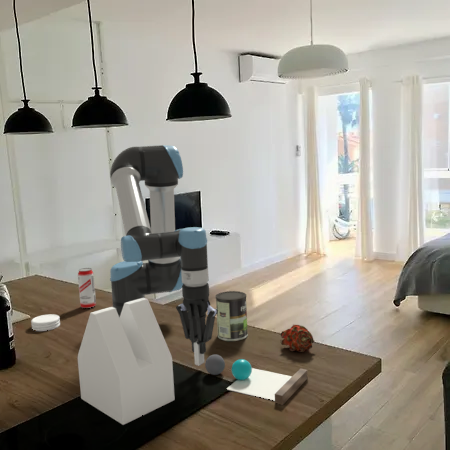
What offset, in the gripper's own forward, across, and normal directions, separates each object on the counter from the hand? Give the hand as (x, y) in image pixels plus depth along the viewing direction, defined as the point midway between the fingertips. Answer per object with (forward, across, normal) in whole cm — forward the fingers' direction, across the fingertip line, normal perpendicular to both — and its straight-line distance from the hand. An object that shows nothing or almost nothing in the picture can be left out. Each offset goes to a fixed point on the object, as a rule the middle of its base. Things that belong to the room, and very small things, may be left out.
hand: (199, 363), depth 144 cm
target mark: (+2, +20, 0) cm, 20 cm away
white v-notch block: (+2, -7, -23) cm, 24 cm away
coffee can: (+2, -5, +27) cm, 28 cm away
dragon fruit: (+2, +19, +25) cm, 31 cm away
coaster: (+2, -73, +6) cm, 73 cm away
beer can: (+2, -76, +30) cm, 82 cm away
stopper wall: (+2, +28, 0) cm, 29 cm away
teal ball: (-1, +14, 0) cm, 14 cm away
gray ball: (-1, +6, 0) cm, 6 cm away
